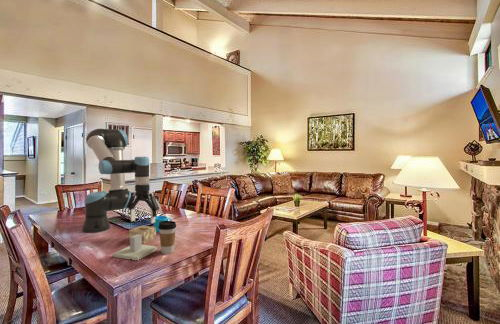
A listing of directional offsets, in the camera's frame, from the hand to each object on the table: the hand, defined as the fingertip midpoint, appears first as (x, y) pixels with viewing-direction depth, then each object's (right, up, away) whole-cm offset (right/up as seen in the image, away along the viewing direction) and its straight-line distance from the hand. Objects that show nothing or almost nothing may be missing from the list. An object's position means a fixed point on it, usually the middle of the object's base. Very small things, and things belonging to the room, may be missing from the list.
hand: (142, 221), depth 145 cm
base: (+4, -11, -18) cm, 22 cm away
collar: (0, -10, +1) cm, 10 cm away
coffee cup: (+19, -11, -16) cm, 27 cm away
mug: (+5, -10, +19) cm, 22 cm away
